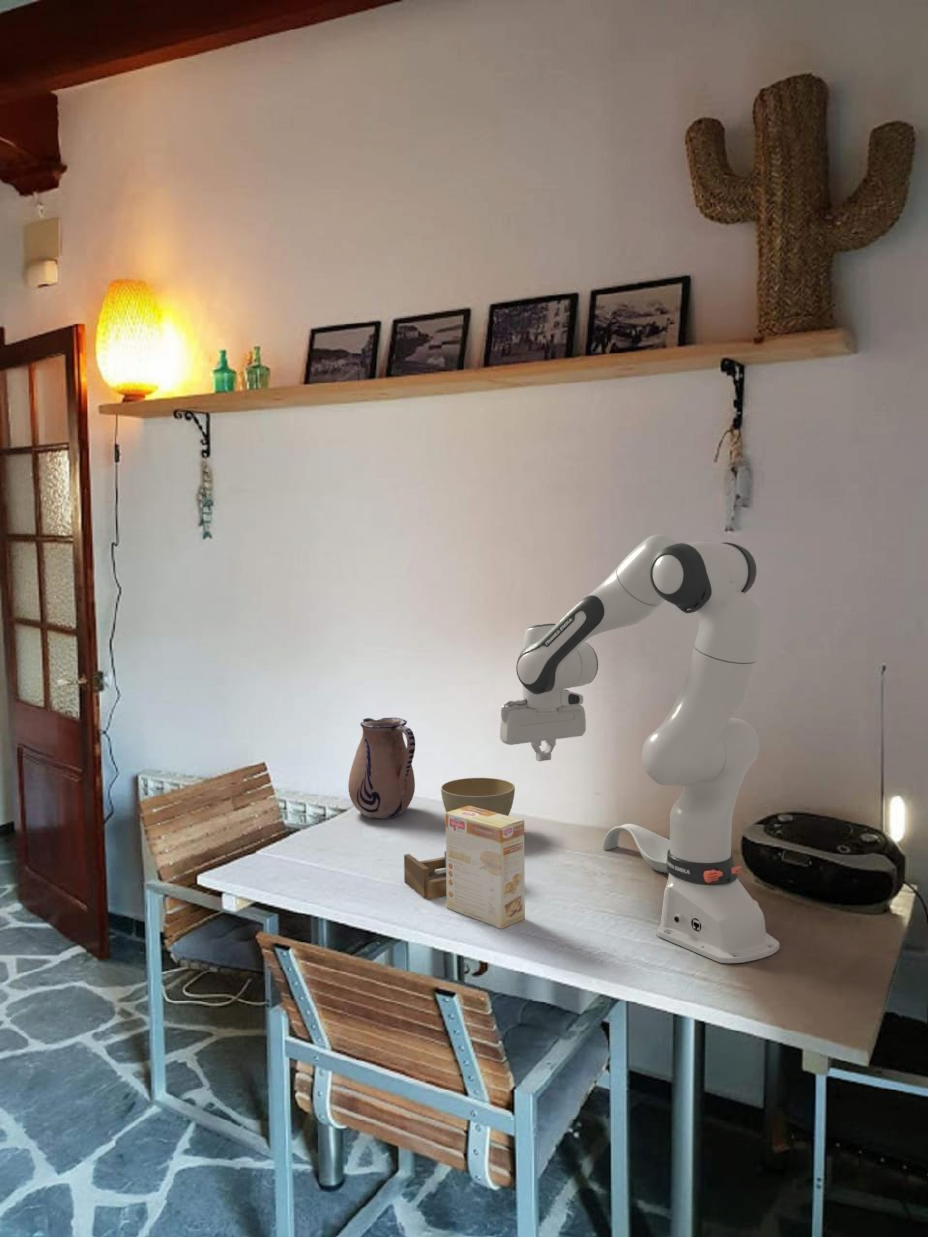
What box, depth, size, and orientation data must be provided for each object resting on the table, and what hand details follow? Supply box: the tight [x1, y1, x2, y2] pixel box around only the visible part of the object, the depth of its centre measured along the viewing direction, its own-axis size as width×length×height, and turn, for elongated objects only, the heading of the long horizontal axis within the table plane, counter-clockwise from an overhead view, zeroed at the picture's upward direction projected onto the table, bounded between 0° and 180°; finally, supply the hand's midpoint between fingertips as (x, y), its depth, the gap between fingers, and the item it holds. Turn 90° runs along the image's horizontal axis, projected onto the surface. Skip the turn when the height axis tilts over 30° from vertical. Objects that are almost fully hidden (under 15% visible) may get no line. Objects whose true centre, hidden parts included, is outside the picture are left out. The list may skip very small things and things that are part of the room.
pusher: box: [435, 850, 446, 874], centre depth 199 cm, size 5×9×5 cm, turn 27°
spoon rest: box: [602, 823, 670, 874], centre depth 212 cm, size 24×12×7 cm, turn 39°
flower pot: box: [440, 777, 516, 816], centre depth 232 cm, size 18×18×12 cm
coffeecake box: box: [445, 806, 526, 930], centre depth 183 cm, size 15×7×20 cm, turn 45°
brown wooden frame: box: [403, 853, 447, 901], centre depth 201 cm, size 21×12×6 cm, turn 117°
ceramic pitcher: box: [347, 717, 416, 820], centre depth 248 cm, size 18×21×25 cm
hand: (543, 760), depth 207 cm, fingers closed
